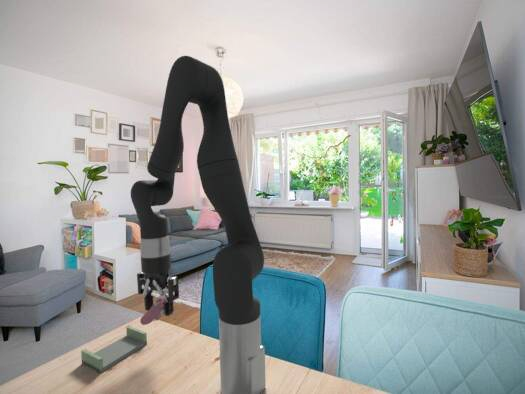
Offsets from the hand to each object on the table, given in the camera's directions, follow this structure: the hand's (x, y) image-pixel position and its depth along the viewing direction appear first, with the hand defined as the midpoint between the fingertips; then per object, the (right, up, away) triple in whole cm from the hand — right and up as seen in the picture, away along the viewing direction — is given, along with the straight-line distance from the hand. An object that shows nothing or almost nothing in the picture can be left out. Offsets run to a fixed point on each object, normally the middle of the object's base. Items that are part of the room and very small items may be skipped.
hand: (158, 311), depth 75 cm
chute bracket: (-12, -11, 0) cm, 17 cm away
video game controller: (0, -2, 0) cm, 2 cm away
